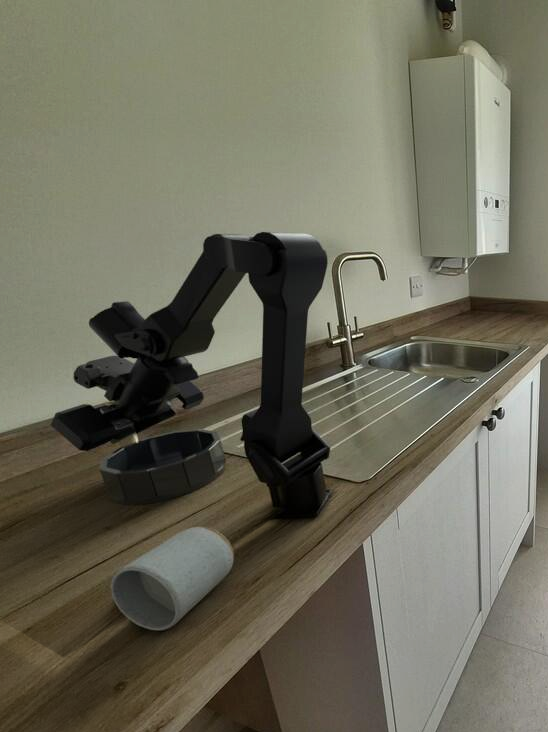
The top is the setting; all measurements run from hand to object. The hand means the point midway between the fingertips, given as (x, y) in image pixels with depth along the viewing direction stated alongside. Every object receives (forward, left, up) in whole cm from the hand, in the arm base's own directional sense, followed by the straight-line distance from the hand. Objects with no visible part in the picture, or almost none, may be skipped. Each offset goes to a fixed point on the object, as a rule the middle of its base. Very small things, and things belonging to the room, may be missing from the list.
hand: (120, 437), depth 68 cm
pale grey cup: (-26, +29, -7) cm, 40 cm away
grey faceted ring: (-8, +3, -6) cm, 11 cm away
